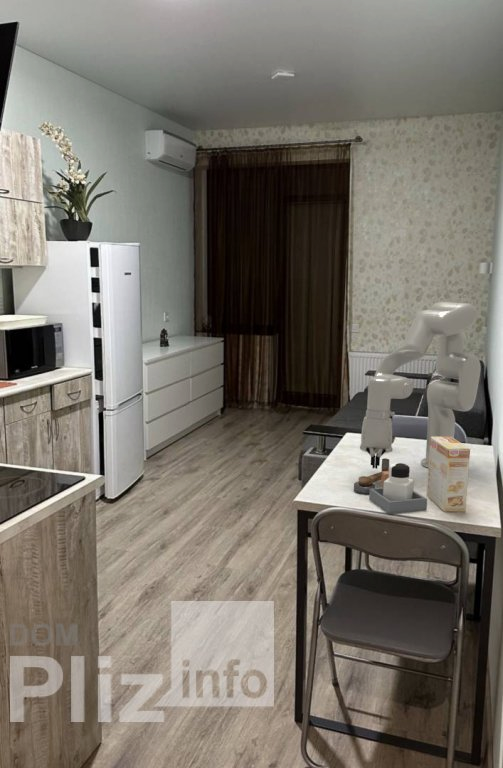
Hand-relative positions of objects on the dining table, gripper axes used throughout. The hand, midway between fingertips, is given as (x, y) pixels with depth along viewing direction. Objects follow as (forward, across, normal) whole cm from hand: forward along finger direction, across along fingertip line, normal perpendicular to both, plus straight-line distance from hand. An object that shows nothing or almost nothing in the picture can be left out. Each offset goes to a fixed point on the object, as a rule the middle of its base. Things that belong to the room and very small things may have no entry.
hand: (374, 467), depth 218 cm
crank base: (+5, +3, +10) cm, 12 cm away
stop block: (+5, -4, +11) cm, 13 cm away
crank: (+3, 0, +6) cm, 7 cm away
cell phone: (+5, -5, -61) cm, 61 cm away
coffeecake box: (+5, -22, +16) cm, 27 cm away
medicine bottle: (+5, -7, +20) cm, 22 cm away
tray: (+5, -7, +21) cm, 22 cm away
